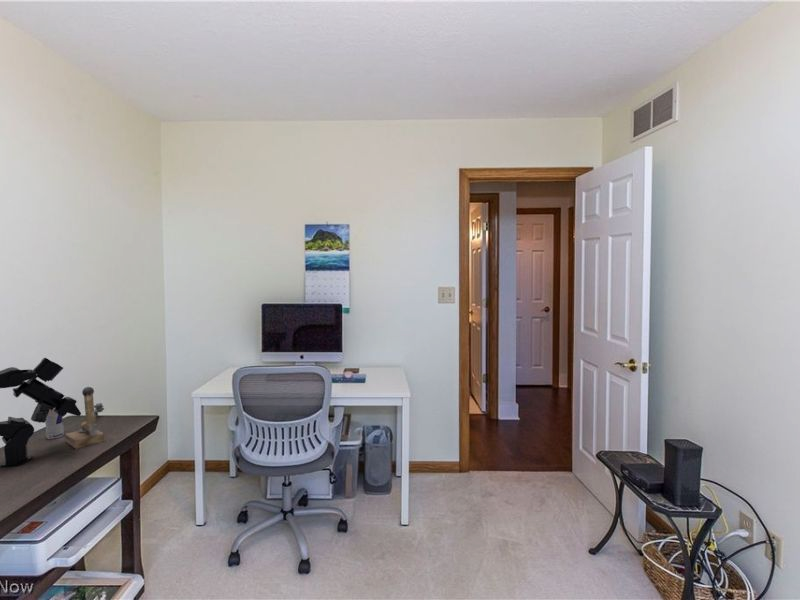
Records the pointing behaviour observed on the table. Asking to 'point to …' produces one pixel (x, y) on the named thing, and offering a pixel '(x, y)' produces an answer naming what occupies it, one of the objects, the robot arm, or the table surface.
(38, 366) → the robot arm
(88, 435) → the press bench
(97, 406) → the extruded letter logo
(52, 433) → the energy drink
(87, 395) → the lever
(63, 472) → the table surface
